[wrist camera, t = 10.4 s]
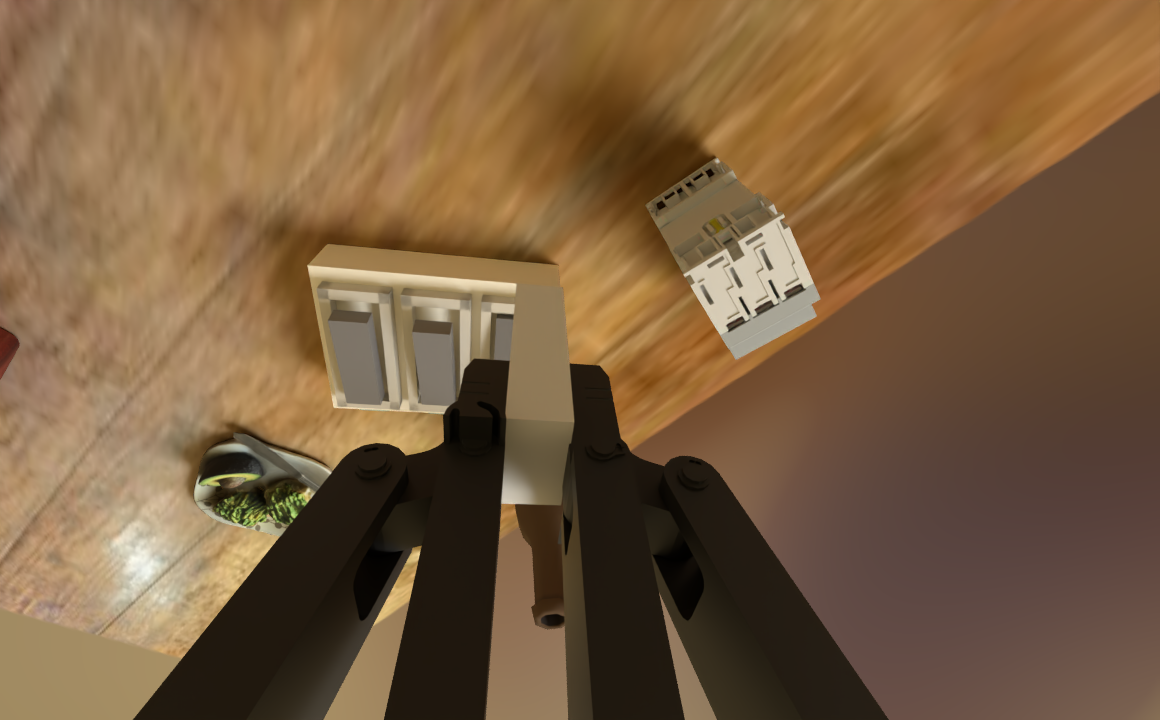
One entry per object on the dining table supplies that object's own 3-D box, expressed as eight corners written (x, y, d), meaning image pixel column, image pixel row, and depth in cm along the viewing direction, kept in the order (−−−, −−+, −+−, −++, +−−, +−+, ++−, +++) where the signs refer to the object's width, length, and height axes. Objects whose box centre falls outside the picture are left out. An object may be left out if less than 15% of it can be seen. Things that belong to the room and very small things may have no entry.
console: (327, 243, 48) (301, 272, 42) (558, 265, 51) (560, 294, 45) (349, 380, 57) (329, 418, 51) (544, 392, 60) (544, 429, 54)
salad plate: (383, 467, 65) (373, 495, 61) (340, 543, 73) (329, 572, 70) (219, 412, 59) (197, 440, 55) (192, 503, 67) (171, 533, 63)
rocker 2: (415, 319, 44) (411, 331, 43) (452, 322, 45) (449, 334, 44) (424, 392, 52) (421, 404, 50) (456, 394, 52) (454, 406, 51)
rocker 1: (333, 309, 44) (327, 320, 43) (371, 312, 44) (367, 323, 43) (351, 391, 50) (346, 403, 49) (384, 393, 51) (380, 405, 50)
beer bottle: (590, 439, 64) (612, 628, 45) (536, 461, 66) (535, 653, 46) (562, 398, 60) (572, 585, 40) (505, 422, 62) (489, 614, 42)
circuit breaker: (709, 311, 55) (758, 398, 42) (644, 204, 48) (681, 271, 35) (773, 275, 53) (845, 355, 40) (716, 157, 46) (782, 210, 33)
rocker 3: (497, 313, 47) (496, 318, 46) (531, 316, 48) (531, 321, 46) (492, 410, 51) (490, 417, 49) (524, 412, 51) (523, 419, 49)
